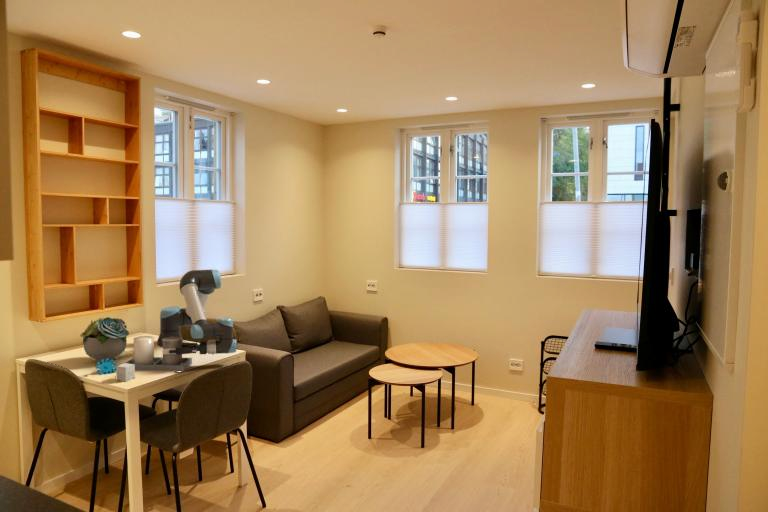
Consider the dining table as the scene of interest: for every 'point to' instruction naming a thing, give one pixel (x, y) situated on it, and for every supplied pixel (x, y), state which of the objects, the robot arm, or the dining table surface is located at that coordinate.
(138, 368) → the tray
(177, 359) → the pillar candle
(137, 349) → the white candle
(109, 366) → the gear
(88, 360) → the dining table surface
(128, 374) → the skincare box
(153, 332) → the dining table surface
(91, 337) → the flower arrangement
